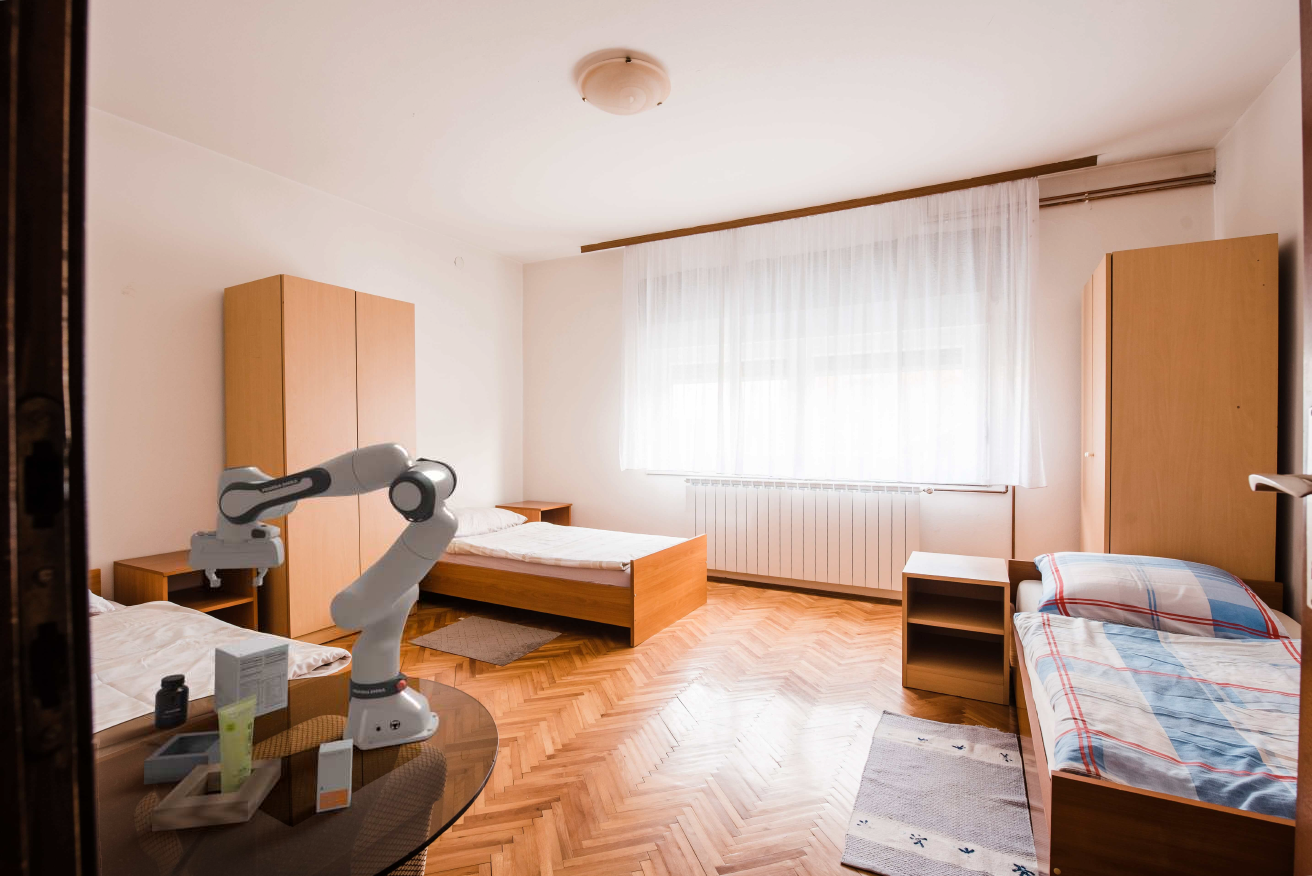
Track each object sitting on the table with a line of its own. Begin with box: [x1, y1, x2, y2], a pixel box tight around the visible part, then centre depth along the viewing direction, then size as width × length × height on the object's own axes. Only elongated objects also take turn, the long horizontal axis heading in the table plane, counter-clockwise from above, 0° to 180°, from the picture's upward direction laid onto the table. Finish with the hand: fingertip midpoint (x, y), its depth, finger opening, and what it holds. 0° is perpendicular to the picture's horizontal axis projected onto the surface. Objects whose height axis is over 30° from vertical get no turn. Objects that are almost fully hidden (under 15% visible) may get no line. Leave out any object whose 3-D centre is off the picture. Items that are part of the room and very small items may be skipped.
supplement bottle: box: [153, 673, 190, 730], centre depth 155 cm, size 7×7×12 cm
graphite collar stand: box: [143, 730, 221, 785], centre depth 135 cm, size 12×12×5 cm
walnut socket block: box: [151, 757, 282, 832], centre depth 122 cm, size 16×16×4 cm
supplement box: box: [213, 635, 290, 718], centre depth 164 cm, size 13×13×18 cm
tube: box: [217, 695, 256, 794], centre depth 124 cm, size 6×5×20 cm
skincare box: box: [316, 739, 354, 813], centre depth 122 cm, size 6×4×12 cm
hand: (236, 585), depth 150 cm, fingers open, 8 cm apart
